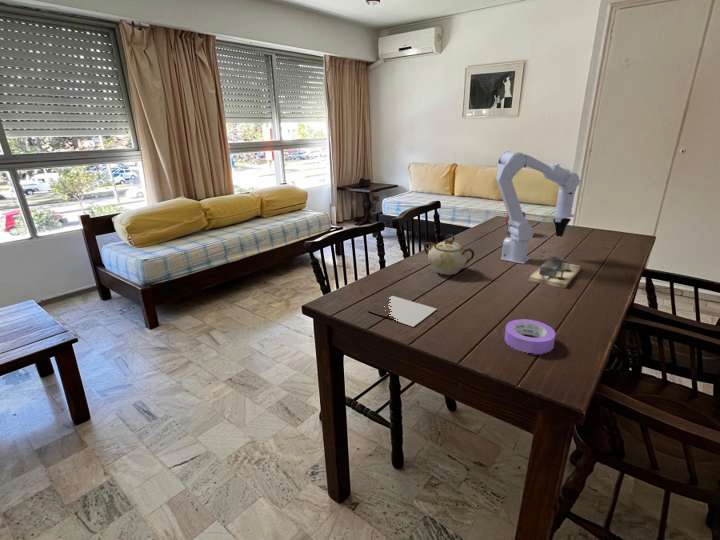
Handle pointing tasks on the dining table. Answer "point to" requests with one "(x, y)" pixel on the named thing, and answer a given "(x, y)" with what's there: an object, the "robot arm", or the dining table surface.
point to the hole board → (554, 279)
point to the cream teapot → (448, 256)
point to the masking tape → (528, 343)
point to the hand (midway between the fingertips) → (559, 236)
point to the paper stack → (408, 311)
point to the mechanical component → (508, 220)
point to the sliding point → (557, 262)
